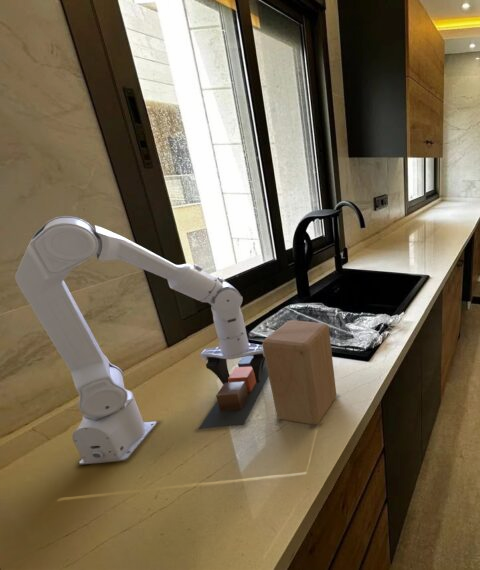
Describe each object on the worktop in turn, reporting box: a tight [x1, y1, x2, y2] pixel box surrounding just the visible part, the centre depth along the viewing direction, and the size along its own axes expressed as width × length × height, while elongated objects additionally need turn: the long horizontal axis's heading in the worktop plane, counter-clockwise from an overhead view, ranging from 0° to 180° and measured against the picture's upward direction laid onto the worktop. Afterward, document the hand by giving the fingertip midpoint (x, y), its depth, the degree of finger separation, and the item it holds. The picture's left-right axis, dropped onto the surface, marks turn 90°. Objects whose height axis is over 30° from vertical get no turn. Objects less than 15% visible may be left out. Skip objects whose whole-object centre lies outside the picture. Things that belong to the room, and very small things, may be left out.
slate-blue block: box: [237, 356, 265, 369], centre depth 85 cm, size 4×4×4 cm
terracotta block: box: [228, 366, 256, 392], centre depth 80 cm, size 4×4×4 cm
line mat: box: [198, 361, 269, 430], centre depth 81 cm, size 26×9×1 cm, turn 7°
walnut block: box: [215, 381, 248, 411], centre depth 74 cm, size 4×4×4 cm
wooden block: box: [261, 319, 337, 426], centre depth 71 cm, size 10×10×20 cm
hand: (243, 381), depth 80 cm, fingers open, 7 cm apart
